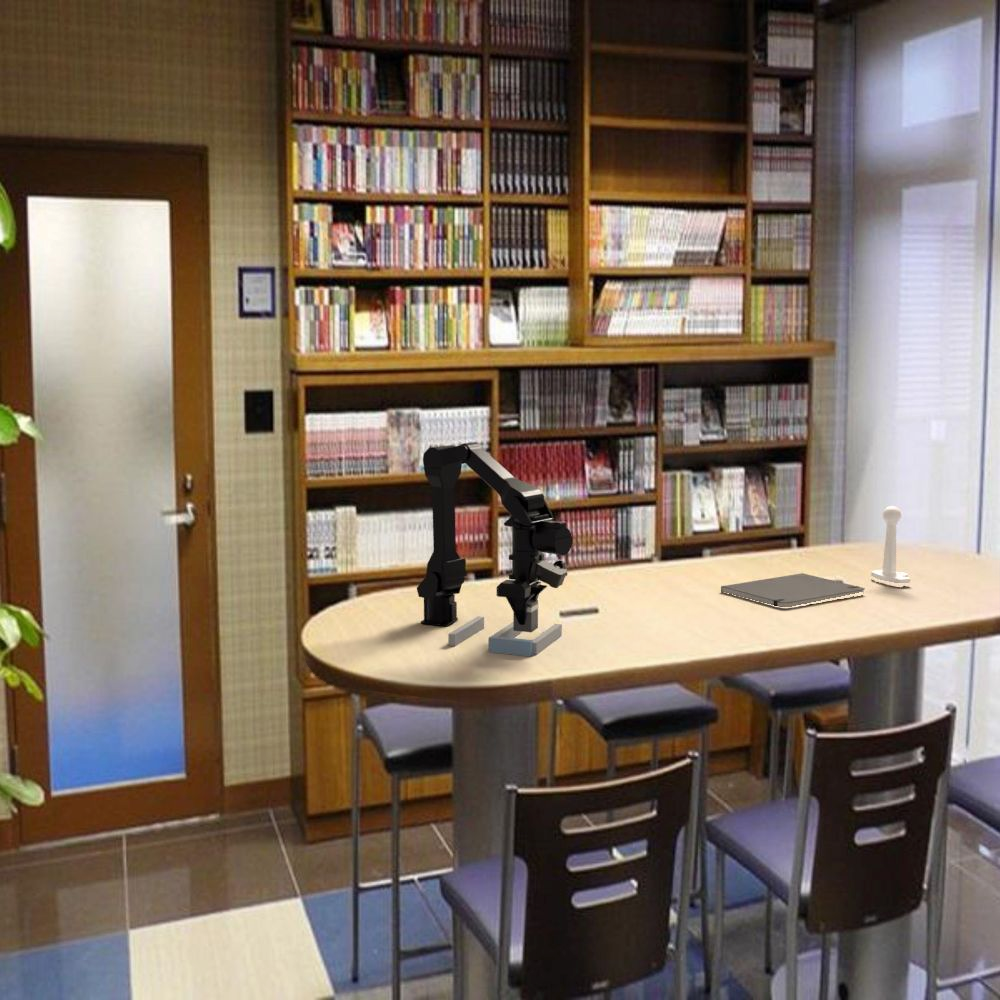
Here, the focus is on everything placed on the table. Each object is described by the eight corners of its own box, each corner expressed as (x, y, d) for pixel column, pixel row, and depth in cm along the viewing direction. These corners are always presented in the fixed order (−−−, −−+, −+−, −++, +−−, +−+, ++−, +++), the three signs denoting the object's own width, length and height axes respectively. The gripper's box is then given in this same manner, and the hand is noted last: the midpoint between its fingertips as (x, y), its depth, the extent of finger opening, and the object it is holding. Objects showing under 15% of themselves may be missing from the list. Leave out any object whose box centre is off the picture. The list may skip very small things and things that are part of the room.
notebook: (802, 581, 317) (720, 594, 302) (802, 572, 317) (720, 585, 302) (867, 597, 299) (783, 612, 284) (867, 588, 299) (784, 602, 284)
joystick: (867, 579, 316) (870, 503, 313) (890, 577, 319) (893, 501, 316) (896, 588, 306) (900, 510, 303) (920, 585, 309) (924, 508, 306)
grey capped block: (513, 630, 255) (513, 602, 254) (520, 626, 259) (520, 598, 258) (531, 632, 253) (531, 604, 252) (538, 627, 257) (538, 600, 256)
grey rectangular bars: (445, 647, 253) (445, 633, 252) (477, 627, 269) (477, 614, 268) (533, 656, 246) (534, 642, 245) (561, 635, 262) (561, 622, 261)
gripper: (547, 560, 242) (547, 636, 244) (576, 544, 259) (575, 615, 261) (495, 556, 246) (495, 631, 248) (527, 540, 263) (527, 610, 265)
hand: (525, 622), depth 256 cm, fingers closed on grey capped block, 4 cm apart
